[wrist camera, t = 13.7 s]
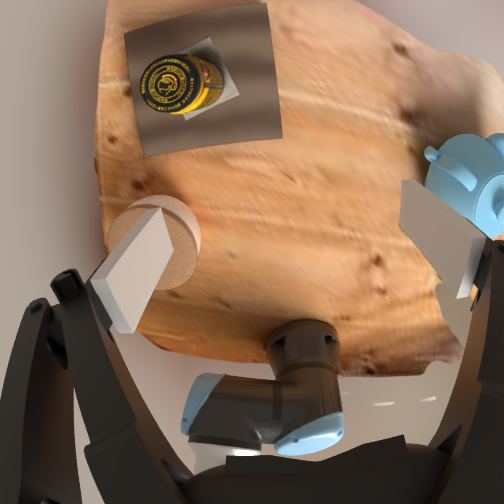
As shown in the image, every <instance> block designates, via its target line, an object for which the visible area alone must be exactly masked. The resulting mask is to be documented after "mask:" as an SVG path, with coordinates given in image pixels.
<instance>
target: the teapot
mask: <svg viewBox="0 0 504 504" xmlns="http://www.w3.org/2000/svg"><path fill="white" fill-rule="evenodd" d="M424 156H425V157H426V158H427V160H429V161H430V162H431V164H430V167H429V170H428V174H427V177H426V179H425V180H424V187H425V188H426V189H428V190H429V191H431V192H432V193H433V194H435V195H436V196H437V197H439V198H440V199H441V200H443V201H444V202H445V203H447V204H448V205H449V206H450V207H452V208H453V209H454V210H456V211H457V212H458V213H459V214H461V215H462V216H463V217H465V218H467V219H469V220H470V221H471V222H472V223H473V224H474V225H476V226H477V227H478V228H479V230H482V231H483V232H484V233H485V234H486V235H487V236H488V237H489V238H494V237H496V236H498V235H499V234H501V233H502V232H503V231H504V134H503V133H496V134H493V135H491V136H489V137H488V138H486V139H484V138H482V137H480V136H478V135H475V134H470V133H465V134H459V135H457V136H454V137H452V138H450V139H448V140H446V141H445V143H444V144H443V145H442V146H441V147H440V148H439V150H438V151H437V150H436V149H434V148H433V147H432V146H428V147H427V148H426V149H425V151H424Z"/></svg>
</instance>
